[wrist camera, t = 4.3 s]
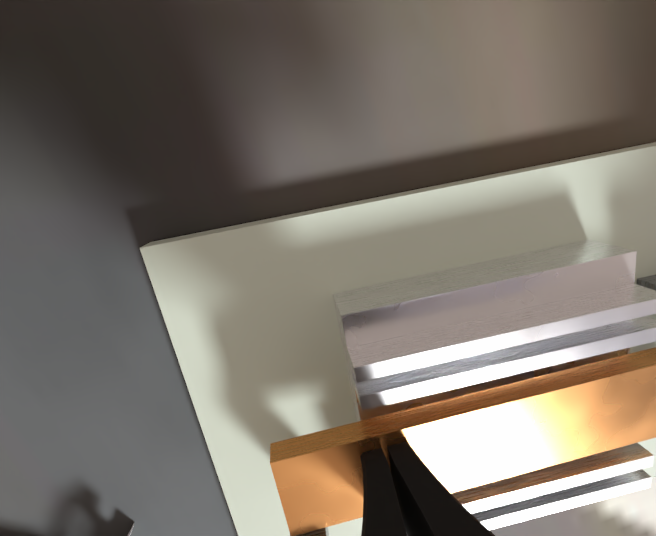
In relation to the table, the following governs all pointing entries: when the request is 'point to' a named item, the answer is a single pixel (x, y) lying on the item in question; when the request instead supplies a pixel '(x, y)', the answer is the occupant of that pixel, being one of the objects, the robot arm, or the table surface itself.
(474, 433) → the strap
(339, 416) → the heatsink board
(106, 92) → the table surface
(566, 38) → the table surface
